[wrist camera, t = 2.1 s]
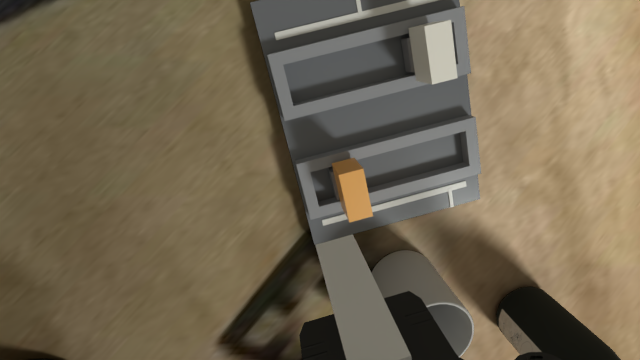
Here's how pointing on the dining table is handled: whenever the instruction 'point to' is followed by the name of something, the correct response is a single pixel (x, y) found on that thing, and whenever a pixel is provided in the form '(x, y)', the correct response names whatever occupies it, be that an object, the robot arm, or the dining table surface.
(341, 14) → the grey flat slotted tray
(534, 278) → the dining table surface
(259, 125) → the dining table surface
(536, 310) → the wine bottle
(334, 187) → the block
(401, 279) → the mug
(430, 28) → the fader
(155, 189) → the dining table surface
